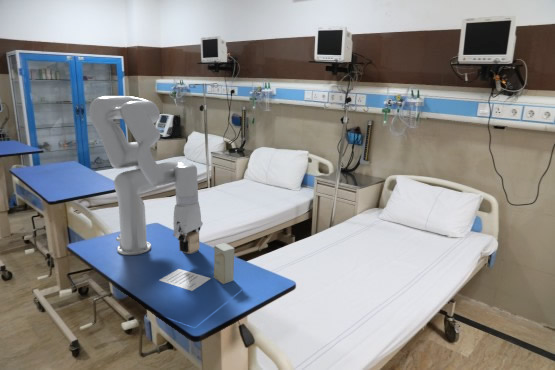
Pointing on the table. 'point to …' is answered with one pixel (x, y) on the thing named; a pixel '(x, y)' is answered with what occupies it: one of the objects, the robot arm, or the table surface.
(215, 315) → the table surface
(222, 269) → the skincare box
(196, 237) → the block
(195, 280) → the letter
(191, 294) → the table surface
